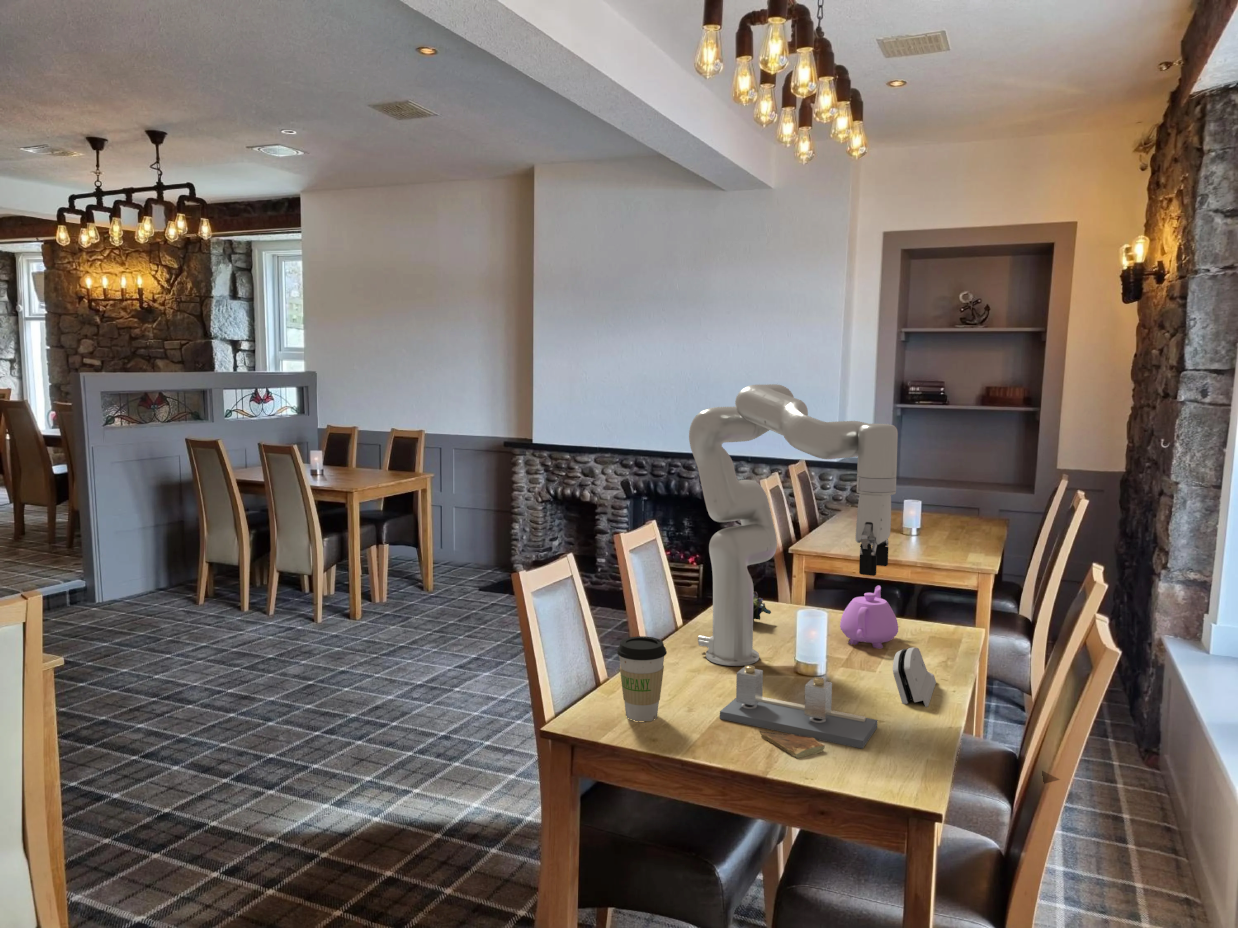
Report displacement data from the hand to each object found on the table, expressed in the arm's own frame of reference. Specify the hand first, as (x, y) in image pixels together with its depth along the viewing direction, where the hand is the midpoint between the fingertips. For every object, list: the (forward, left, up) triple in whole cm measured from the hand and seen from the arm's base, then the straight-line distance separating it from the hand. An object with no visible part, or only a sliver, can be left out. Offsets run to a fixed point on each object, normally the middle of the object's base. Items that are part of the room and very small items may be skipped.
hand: (873, 569), depth 176 cm
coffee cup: (-38, -28, -28) cm, 55 cm away
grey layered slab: (+6, +13, -29) cm, 32 cm away
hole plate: (-10, -16, -28) cm, 34 cm away
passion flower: (-44, +42, -29) cm, 67 cm away
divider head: (-6, -16, -26) cm, 31 cm away
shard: (-7, -28, -29) cm, 41 cm away
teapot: (-11, +44, -29) cm, 54 cm away
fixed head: (-20, -16, -26) cm, 37 cm away
